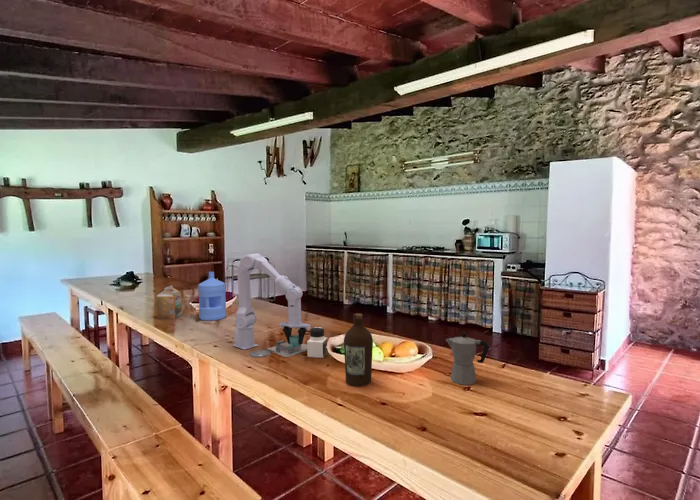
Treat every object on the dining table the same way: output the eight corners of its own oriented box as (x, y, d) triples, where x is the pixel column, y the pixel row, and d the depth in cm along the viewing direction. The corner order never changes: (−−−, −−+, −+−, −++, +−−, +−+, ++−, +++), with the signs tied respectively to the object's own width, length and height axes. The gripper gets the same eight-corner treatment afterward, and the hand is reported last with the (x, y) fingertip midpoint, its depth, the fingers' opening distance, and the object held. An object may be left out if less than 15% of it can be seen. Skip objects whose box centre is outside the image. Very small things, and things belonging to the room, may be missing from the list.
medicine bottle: (323, 358, 177) (322, 330, 176) (307, 357, 179) (306, 330, 178) (327, 352, 184) (327, 326, 183) (312, 351, 186) (311, 325, 185)
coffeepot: (443, 382, 150) (443, 334, 149) (447, 373, 159) (447, 327, 158) (487, 388, 145) (488, 338, 143) (489, 379, 153) (490, 331, 152)
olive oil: (349, 374, 159) (348, 310, 157) (376, 377, 155) (375, 312, 153) (340, 385, 148) (339, 316, 146) (368, 388, 145) (368, 318, 143)
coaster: (245, 354, 183) (245, 353, 183) (262, 349, 190) (262, 348, 190) (257, 358, 177) (257, 357, 177) (274, 353, 184) (274, 352, 184)
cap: (284, 348, 183) (284, 339, 182) (292, 343, 190) (292, 334, 190) (294, 349, 181) (294, 340, 181) (302, 344, 189) (302, 335, 188)
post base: (266, 350, 189) (266, 339, 188) (294, 342, 200) (294, 332, 200) (286, 357, 179) (285, 345, 179) (313, 348, 191) (313, 337, 190)
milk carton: (174, 319, 248) (173, 288, 246) (157, 319, 248) (155, 288, 246) (182, 315, 258) (180, 285, 257) (165, 315, 258) (164, 285, 257)
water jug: (206, 314, 260) (205, 270, 258) (230, 315, 258) (229, 270, 256) (194, 320, 245) (192, 273, 242) (219, 321, 242) (217, 273, 240)
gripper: (275, 314, 184) (276, 344, 185) (305, 317, 180) (306, 347, 181) (283, 311, 191) (283, 340, 192) (312, 313, 187) (312, 343, 188)
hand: (295, 343), depth 187 cm, fingers closed on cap, 5 cm apart
